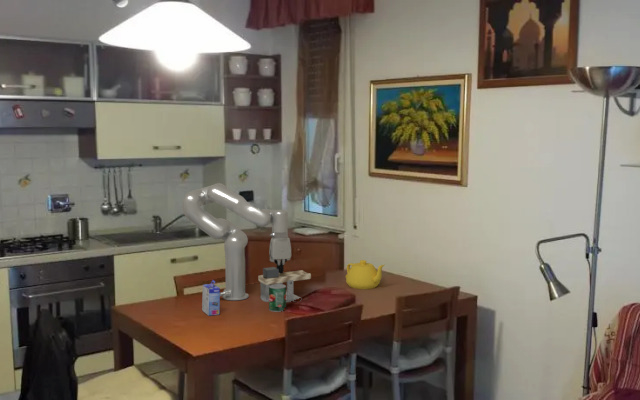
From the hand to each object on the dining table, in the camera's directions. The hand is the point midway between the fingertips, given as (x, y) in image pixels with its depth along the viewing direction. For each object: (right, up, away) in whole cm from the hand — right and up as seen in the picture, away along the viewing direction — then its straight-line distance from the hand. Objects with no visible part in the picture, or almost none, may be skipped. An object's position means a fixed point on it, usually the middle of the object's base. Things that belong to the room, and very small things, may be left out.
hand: (280, 272), depth 317 cm
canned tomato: (0, -15, -18) cm, 23 cm away
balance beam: (+2, -4, +2) cm, 5 cm away
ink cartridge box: (-29, -16, -24) cm, 41 cm away
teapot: (+43, -10, +28) cm, 52 cm away
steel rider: (-4, -3, -3) cm, 6 cm away
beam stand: (-1, -13, +1) cm, 13 cm away
